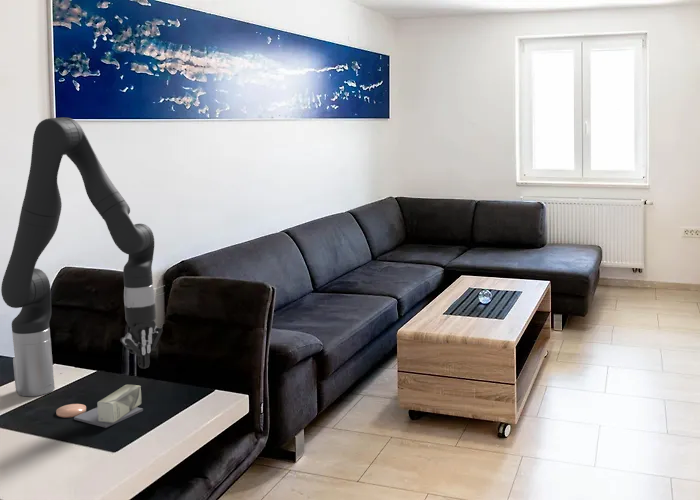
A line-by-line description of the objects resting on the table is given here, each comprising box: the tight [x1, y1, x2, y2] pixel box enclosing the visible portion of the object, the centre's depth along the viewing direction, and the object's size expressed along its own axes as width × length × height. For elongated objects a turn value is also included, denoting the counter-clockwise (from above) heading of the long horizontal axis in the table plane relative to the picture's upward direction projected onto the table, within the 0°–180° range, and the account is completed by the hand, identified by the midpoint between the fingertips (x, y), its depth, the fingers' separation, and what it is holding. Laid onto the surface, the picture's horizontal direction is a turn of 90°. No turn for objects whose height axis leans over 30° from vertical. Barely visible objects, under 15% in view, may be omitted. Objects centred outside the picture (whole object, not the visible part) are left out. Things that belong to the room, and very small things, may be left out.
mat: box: [73, 406, 144, 429], centre depth 185 cm, size 11×12×1 cm
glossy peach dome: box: [55, 403, 87, 418], centre depth 187 cm, size 7×7×1 cm
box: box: [96, 384, 142, 423], centre depth 184 cm, size 5×4×13 cm
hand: (144, 367), depth 194 cm, fingers closed
